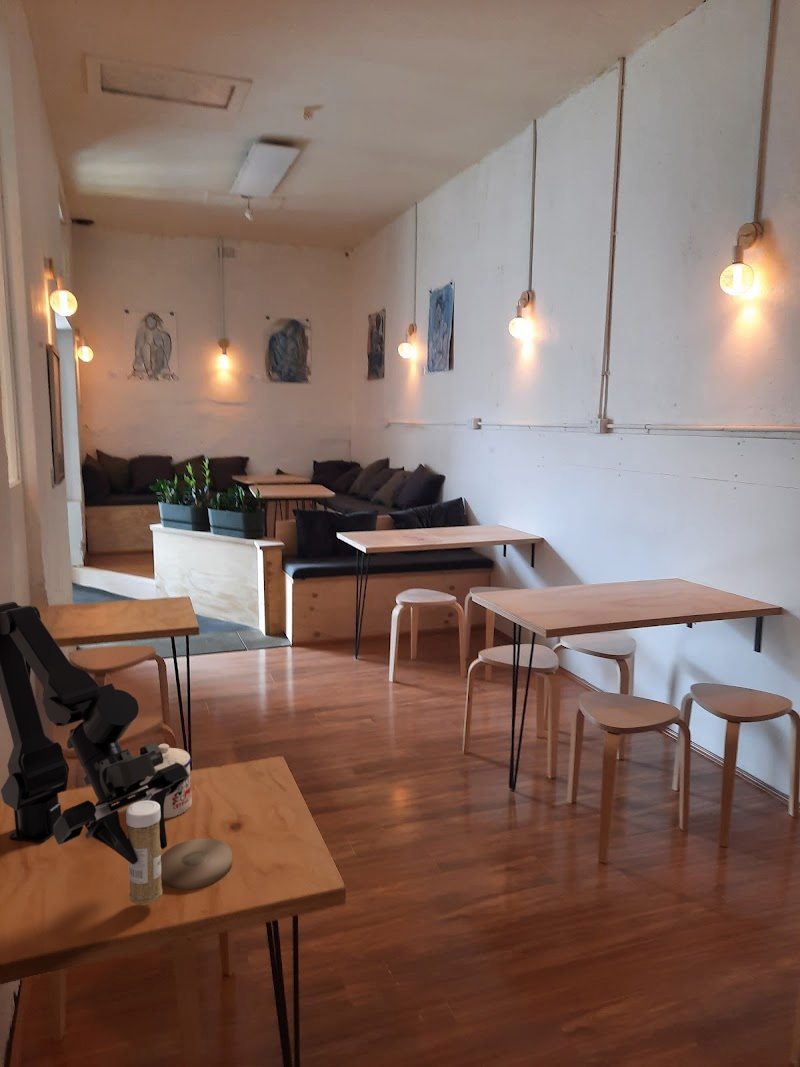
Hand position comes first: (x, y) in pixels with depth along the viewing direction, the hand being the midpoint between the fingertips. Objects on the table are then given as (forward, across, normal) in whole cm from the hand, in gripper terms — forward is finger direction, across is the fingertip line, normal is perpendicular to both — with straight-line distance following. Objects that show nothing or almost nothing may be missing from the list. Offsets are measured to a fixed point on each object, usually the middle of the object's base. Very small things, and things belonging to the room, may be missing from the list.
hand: (150, 855), depth 105 cm
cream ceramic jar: (-10, +19, +23) cm, 32 cm away
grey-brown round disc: (+3, +10, +9) cm, 14 cm away
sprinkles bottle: (+4, 0, +6) cm, 7 cm away
